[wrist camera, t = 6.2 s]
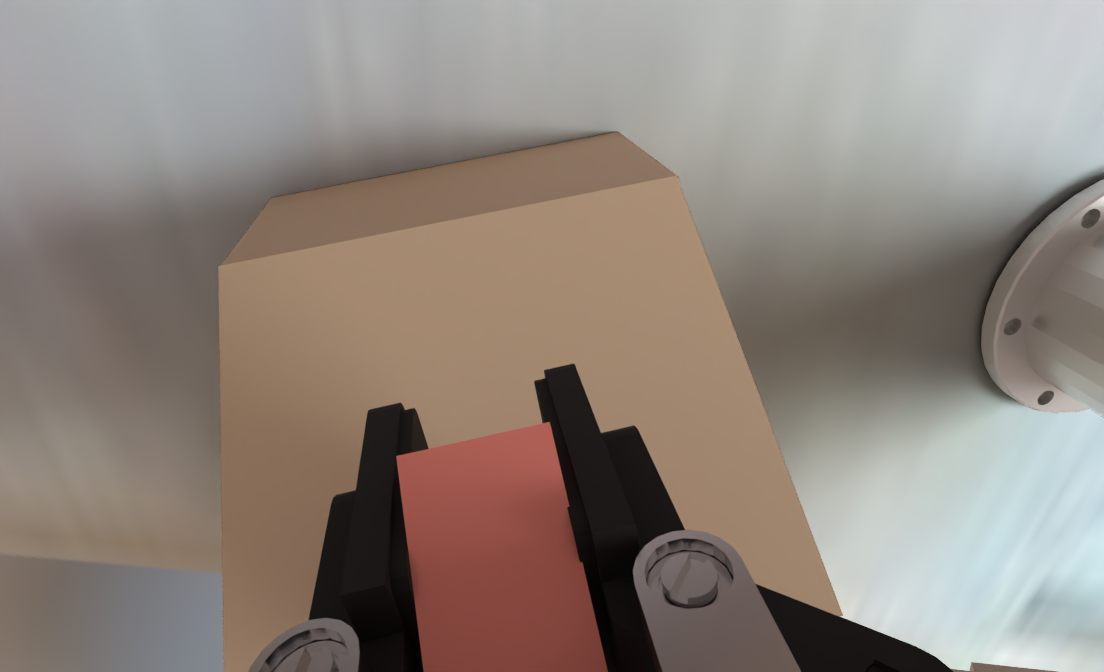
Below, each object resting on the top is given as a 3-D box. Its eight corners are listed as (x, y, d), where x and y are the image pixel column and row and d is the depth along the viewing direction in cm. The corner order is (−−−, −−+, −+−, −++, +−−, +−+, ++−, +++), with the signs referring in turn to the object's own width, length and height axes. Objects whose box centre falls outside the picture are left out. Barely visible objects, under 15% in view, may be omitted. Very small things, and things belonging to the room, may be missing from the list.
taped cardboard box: (673, 187, 19) (727, -49, 12) (847, 652, 14) (1090, 659, 7) (227, 276, 18) (38, 71, 11) (237, 809, 13) (-90, 973, 6)
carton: (617, 131, 25) (678, 177, 19) (645, 403, 31) (698, 504, 25) (271, 197, 24) (218, 268, 18) (368, 464, 30) (353, 585, 24)
